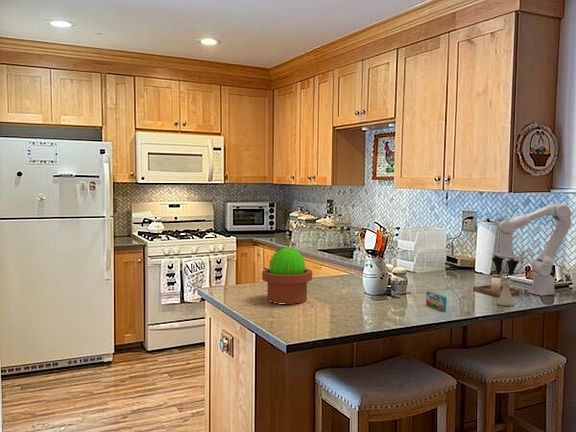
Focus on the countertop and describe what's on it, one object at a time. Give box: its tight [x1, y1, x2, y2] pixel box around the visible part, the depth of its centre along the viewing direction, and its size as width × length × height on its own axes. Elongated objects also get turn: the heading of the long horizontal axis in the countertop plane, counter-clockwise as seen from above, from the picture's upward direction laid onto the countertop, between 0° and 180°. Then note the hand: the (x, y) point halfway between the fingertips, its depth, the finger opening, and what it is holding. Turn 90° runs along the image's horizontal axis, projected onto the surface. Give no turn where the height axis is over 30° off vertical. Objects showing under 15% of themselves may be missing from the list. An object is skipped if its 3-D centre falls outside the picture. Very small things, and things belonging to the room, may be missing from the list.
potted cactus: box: [261, 246, 313, 305], centre depth 232 cm, size 22×22×25 cm
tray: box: [473, 284, 520, 298], centre depth 250 cm, size 15×15×2 cm
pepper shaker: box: [490, 273, 502, 292], centre depth 249 cm, size 4×4×8 cm
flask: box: [496, 281, 515, 307], centre depth 226 cm, size 7×7×10 cm
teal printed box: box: [425, 290, 447, 312], centre depth 220 cm, size 12×2×6 cm, turn 20°
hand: (504, 273), depth 249 cm, fingers open, 7 cm apart
